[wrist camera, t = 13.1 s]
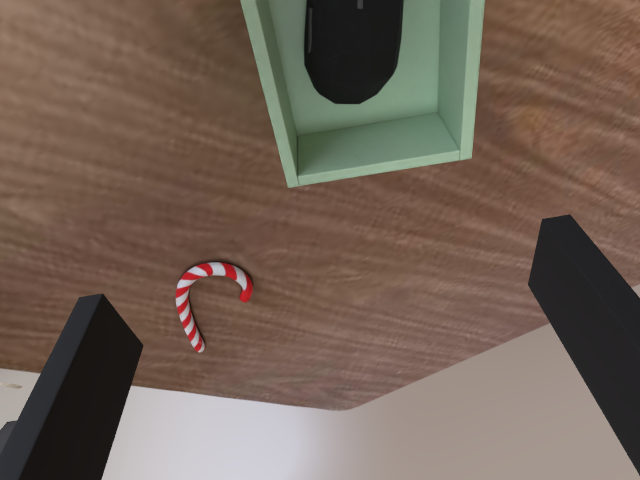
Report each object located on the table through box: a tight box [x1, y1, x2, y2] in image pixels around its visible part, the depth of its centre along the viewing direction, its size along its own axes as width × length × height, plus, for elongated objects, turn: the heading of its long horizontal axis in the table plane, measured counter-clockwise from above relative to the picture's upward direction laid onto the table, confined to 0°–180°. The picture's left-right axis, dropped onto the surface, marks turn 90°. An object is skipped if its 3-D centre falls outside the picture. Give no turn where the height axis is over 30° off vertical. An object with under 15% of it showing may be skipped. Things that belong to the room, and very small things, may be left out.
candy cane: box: [176, 262, 253, 352], centre depth 46 cm, size 8×1×15 cm
